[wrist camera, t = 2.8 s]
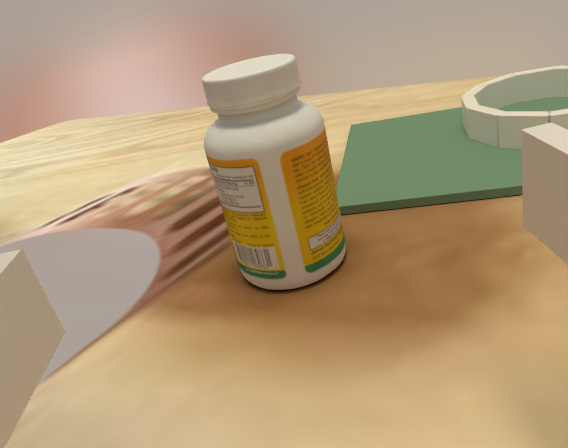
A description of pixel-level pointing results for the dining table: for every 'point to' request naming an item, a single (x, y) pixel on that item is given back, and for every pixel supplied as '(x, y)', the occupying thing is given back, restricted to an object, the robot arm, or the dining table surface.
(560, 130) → the robot arm
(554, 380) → the dining table surface
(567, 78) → the segmented ring wall
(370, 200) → the putting mat
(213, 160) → the supplement bottle
